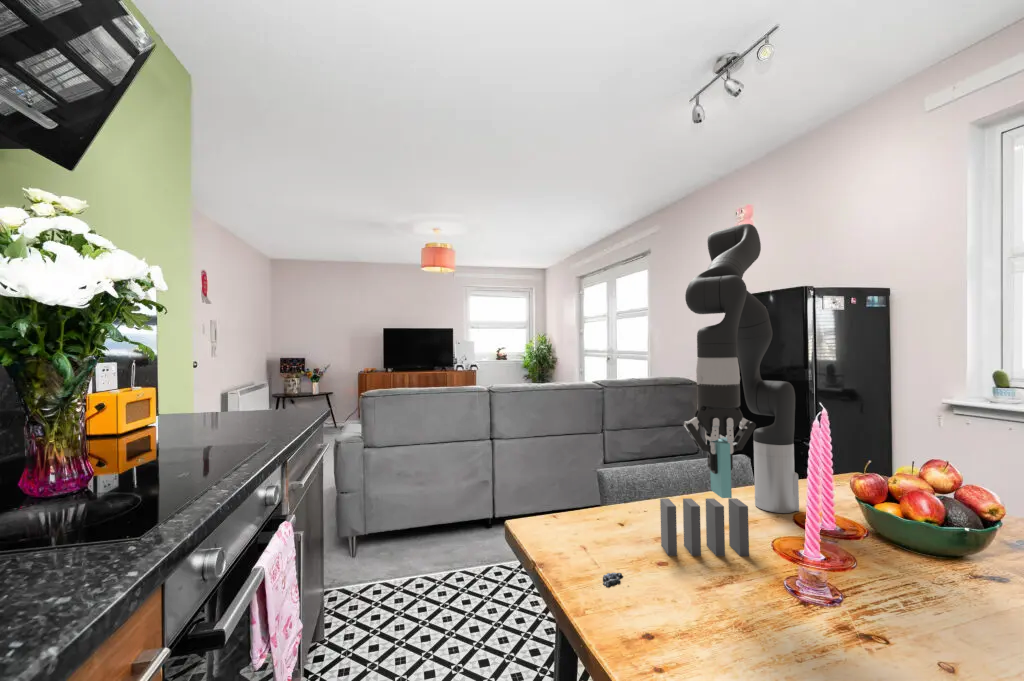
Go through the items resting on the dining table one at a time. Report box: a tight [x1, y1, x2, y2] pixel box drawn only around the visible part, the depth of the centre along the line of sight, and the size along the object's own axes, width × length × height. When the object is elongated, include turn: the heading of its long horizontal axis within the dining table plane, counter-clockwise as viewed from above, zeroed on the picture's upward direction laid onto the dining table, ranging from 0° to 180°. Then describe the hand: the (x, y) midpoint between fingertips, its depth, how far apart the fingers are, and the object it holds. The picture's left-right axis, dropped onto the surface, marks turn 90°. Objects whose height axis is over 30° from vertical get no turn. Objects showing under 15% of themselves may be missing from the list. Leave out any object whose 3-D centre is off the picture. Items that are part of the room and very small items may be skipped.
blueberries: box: [602, 572, 625, 589], centre depth 84 cm, size 7×8×2 cm
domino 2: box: [682, 497, 702, 557], centre depth 96 cm, size 2×5×10 cm, turn 178°
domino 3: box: [705, 497, 726, 557], centre depth 96 cm, size 2×5×10 cm, turn 178°
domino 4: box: [727, 497, 750, 557], centre depth 96 cm, size 2×5×10 cm, turn 178°
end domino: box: [709, 438, 733, 499], centre depth 87 cm, size 2×5×10 cm, turn 178°
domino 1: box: [659, 497, 678, 557], centre depth 96 cm, size 2×5×10 cm, turn 178°
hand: (720, 472), depth 87 cm, fingers closed on end domino, 1 cm apart
